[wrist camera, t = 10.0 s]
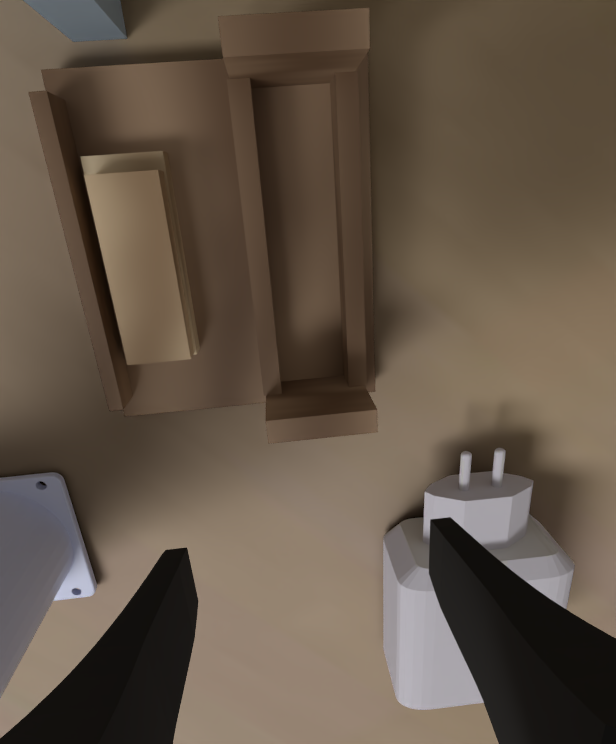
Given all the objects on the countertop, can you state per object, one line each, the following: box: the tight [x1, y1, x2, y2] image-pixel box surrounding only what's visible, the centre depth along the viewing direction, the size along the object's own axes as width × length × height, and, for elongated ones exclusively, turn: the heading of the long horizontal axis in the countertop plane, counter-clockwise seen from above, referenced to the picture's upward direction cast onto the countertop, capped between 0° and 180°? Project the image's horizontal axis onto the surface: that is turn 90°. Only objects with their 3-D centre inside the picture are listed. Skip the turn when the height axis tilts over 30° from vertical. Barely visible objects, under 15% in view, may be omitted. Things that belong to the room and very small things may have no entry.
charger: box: [383, 448, 575, 710], centre depth 25 cm, size 5×9×15 cm
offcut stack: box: [80, 151, 200, 365], centre depth 18 cm, size 3×8×2 cm, turn 4°
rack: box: [29, 8, 378, 444], centre depth 18 cm, size 12×14×5 cm
